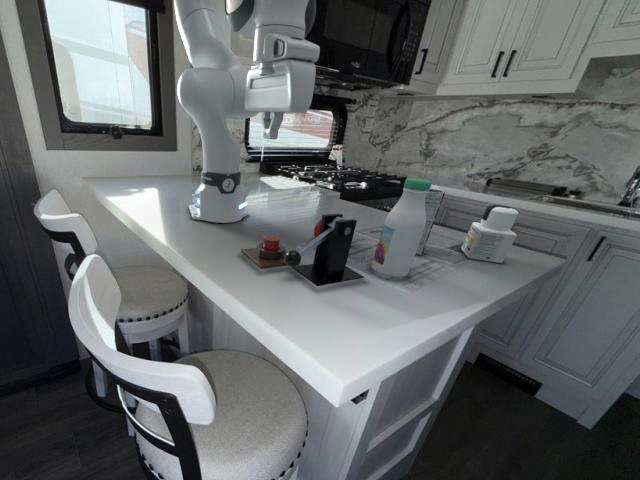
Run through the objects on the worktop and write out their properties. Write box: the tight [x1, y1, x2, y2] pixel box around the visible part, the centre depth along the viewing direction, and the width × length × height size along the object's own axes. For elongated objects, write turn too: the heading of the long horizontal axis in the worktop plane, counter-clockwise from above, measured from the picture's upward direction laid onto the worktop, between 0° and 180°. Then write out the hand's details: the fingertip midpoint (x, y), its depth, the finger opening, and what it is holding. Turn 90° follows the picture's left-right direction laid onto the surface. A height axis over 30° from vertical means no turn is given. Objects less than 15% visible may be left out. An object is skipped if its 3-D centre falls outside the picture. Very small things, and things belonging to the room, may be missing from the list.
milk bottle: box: [370, 177, 433, 278], centre depth 64 cm, size 8×8×20 cm
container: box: [460, 204, 520, 264], centre depth 78 cm, size 8×8×13 cm
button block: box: [241, 242, 288, 270], centre depth 70 cm, size 10×10×4 cm
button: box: [262, 234, 281, 251], centre depth 69 cm, size 4×4×3 cm
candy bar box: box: [415, 183, 446, 256], centre depth 80 cm, size 11×5×16 cm, turn 168°
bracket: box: [291, 213, 365, 287], centre depth 62 cm, size 12×9×13 cm
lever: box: [285, 216, 346, 268], centre depth 60 cm, size 14×3×3 cm
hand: (270, 138), depth 62 cm, fingers closed
